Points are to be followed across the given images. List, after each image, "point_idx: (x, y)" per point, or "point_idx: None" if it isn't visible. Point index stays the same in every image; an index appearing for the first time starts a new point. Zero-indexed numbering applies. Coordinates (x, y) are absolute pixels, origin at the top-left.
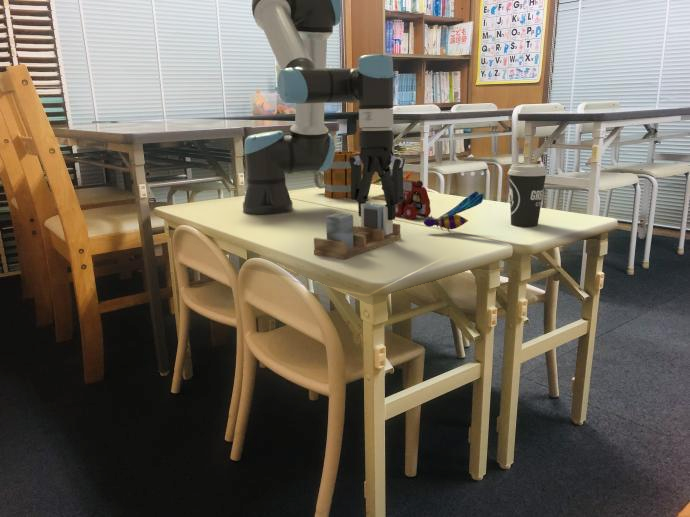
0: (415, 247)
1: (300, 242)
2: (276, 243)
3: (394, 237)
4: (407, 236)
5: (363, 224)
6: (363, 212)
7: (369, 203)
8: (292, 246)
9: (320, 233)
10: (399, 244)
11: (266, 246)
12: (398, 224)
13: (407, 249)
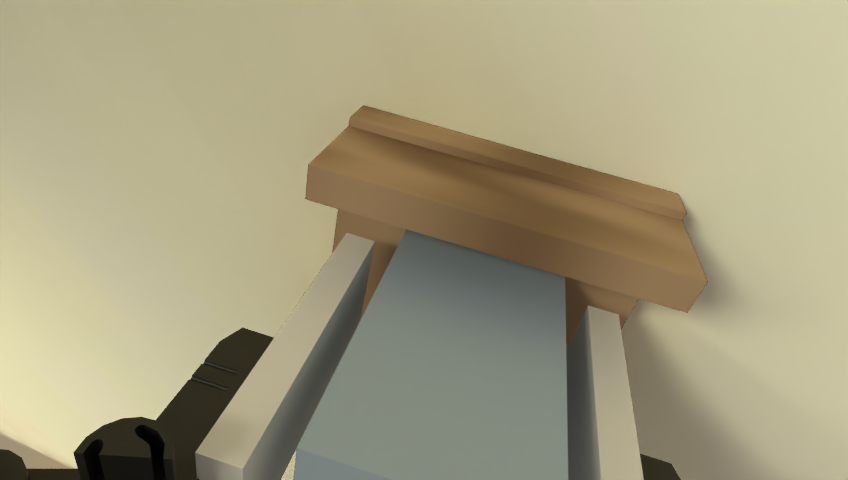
0: (833, 429)
1: (103, 389)
2: (35, 413)
3: (634, 297)
4: (749, 92)
5: (335, 364)
6: (288, 463)
7: (249, 470)
8: None
9: (7, 176)
10: (691, 371)
11: (49, 454)
12: (685, 297)
13: (766, 470)
